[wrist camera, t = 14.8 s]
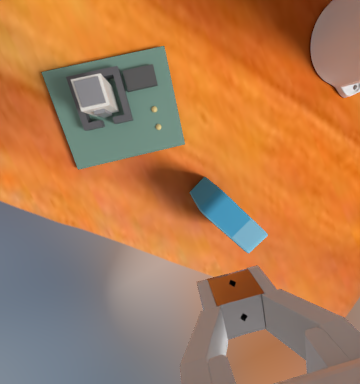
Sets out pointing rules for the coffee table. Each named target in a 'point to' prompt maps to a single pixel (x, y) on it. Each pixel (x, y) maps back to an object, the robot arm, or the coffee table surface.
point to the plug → (95, 95)
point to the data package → (227, 215)
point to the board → (127, 104)
